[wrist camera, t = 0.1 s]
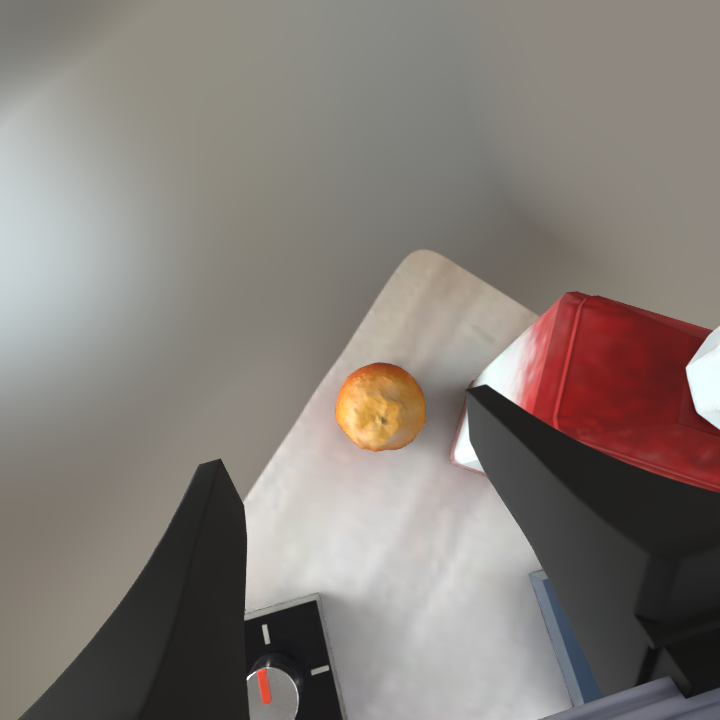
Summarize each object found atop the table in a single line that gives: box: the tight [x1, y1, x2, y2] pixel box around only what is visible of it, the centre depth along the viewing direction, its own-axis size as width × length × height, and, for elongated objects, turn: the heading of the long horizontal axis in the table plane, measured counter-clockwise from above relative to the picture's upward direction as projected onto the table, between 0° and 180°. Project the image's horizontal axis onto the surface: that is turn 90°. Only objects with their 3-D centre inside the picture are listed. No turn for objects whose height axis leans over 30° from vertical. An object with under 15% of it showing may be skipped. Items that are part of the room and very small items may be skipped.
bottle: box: [450, 292, 720, 492], centre depth 31 cm, size 14×10×30 cm
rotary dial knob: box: [247, 652, 304, 720], centre depth 35 cm, size 4×4×4 cm
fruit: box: [336, 363, 426, 451], centre depth 43 cm, size 8×8×8 cm
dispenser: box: [529, 570, 603, 707], centre depth 39 cm, size 11×11×5 cm
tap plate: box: [244, 593, 347, 720], centre depth 39 cm, size 10×9×3 cm
